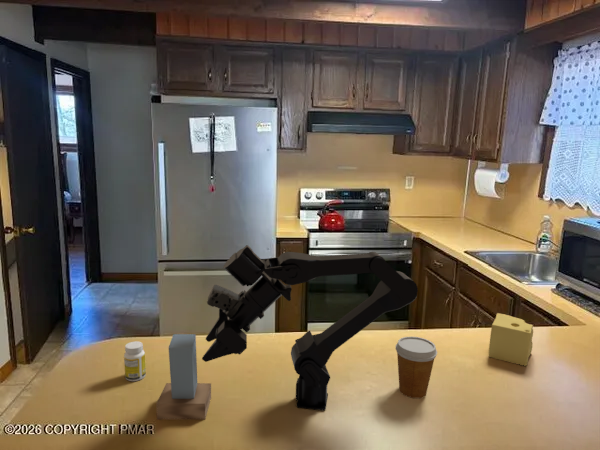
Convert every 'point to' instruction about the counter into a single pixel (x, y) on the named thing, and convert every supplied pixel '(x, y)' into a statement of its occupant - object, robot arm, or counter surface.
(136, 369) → the supplement bottle
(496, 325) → the cheese
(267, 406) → the counter surface
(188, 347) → the slate block
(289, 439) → the counter surface
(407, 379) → the disposable coffee cup
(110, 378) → the counter surface
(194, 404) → the walnut block
